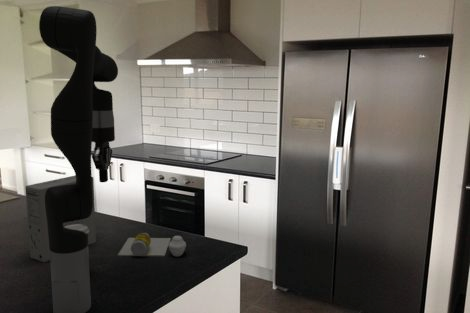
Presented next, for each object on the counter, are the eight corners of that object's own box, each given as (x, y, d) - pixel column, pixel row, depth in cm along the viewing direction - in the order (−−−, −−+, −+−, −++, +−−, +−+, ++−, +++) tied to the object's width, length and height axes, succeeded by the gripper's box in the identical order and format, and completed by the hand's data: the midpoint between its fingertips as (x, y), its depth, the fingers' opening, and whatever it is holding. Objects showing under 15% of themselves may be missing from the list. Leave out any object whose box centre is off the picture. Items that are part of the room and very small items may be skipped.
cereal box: (82, 238, 158) (79, 174, 154) (96, 242, 154) (93, 176, 150) (29, 257, 140) (24, 185, 135) (44, 263, 136) (39, 189, 131)
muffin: (175, 259, 140) (175, 240, 139) (164, 254, 144) (164, 235, 143) (189, 254, 144) (189, 235, 143) (178, 249, 149) (178, 231, 147)
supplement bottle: (133, 238, 140) (139, 228, 150) (128, 253, 141) (134, 241, 151) (149, 244, 140) (154, 233, 150) (143, 259, 141) (148, 247, 151)
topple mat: (164, 256, 143) (164, 255, 143) (117, 255, 142) (117, 254, 142) (170, 239, 158) (170, 238, 158) (128, 238, 158) (128, 237, 158)
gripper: (107, 127, 118) (109, 186, 121) (119, 123, 131) (121, 177, 134) (81, 127, 118) (84, 186, 121) (95, 123, 131) (98, 177, 134)
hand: (103, 181), depth 128 cm, fingers closed
